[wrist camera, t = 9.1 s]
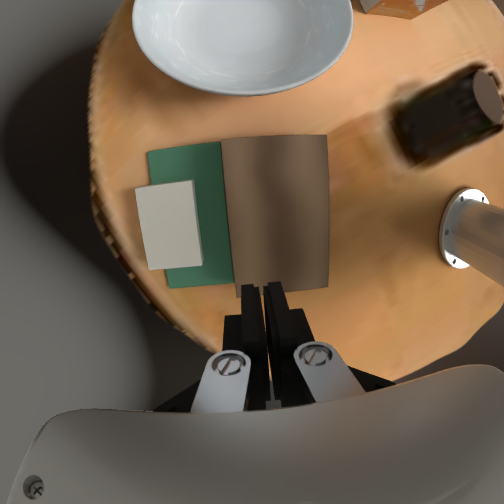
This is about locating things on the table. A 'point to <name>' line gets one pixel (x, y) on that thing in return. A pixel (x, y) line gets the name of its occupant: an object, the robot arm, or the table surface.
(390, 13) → the small box
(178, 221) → the light grey flat block
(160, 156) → the mat
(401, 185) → the table surface
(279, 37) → the serving bowl
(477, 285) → the table surface
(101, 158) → the table surface
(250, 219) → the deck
